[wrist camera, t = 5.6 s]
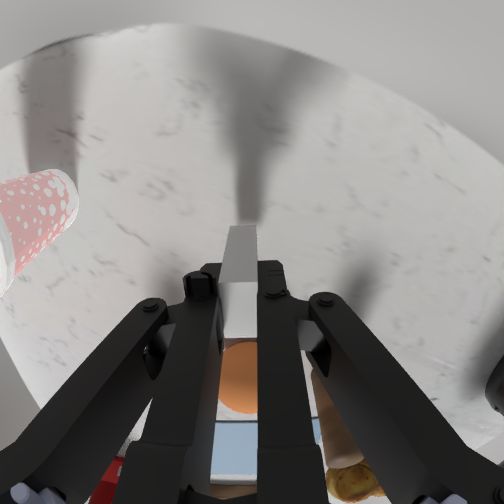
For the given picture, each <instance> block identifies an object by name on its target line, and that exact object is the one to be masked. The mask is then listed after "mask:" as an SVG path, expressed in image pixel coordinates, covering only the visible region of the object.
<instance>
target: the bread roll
mask: <svg viewBox="0 0 504 504" xmlns="http://www.w3.org/2000/svg"><path fill="white" fill-rule="evenodd" d="M326 485H327V489H328V491H329V493H330V494H331V495H332V496H334V497H335V498H337V499H339V500H341V501H343V502H347V503H349V502H353V503H355V502H359V501H362V500H365V499H367V498H368V497H370V496H371V495H372V496H377V497H380V496H386V495H385V493H384V491H383V489H382V488H381V486H380V484H379V482H378V481H377V479H376V477H375V475H374V474H373V472H372V470H371V468H370V467H369V465H368V463H367V461H366V460H365V458H364V459H363V460H362V461H360V462H359V463H357V464H355V465H352V466H349V467H345V468H330V467H329V469H328V471H327V472H326Z"/></svg>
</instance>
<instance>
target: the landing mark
mask: <svg viewBox="0 0 504 504" xmlns="http://www.w3.org/2000/svg"><path fill="white" fill-rule="evenodd" d="M312 424H313V431H314V437H315V442H316V444H317V445H318V443H319V439H320V435H321V429H320V424H319V418H312ZM257 448H258V422H216V423H215V433H214V443H213V453H212V464H211V474H226V475H257Z"/></svg>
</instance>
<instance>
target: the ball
mask: <svg viewBox="0 0 504 504" xmlns="http://www.w3.org/2000/svg"><path fill="white" fill-rule="evenodd" d="M218 398H219V399H220V400H221V401H222V403H223V404H225V405H226V406H227V407H229V408H230V409H232V410H234V411H237V412H240V413H246V414H254V413H257V342H242V343H238V344H235V345H233V346H231V347H229V348H228V349H226V350H225V351H224V352H223V358H222V367H221V376H220V386H219V395H218Z"/></svg>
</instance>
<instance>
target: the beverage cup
mask: <svg viewBox="0 0 504 504" xmlns="http://www.w3.org/2000/svg"><path fill="white" fill-rule="evenodd" d="M78 209H79V200H78V193H77V190H76V187H75V185H74V183H73V181H72V180H71V179H70V178H69V176H68V175H67V174H65V173H64V172H62V171H60V170H58V169H48V170H44V171H40V172H36V173H32V174H28V175H24V176H21V177H17V178H13V179H10V180H6V181H3V182H0V297H1V296H2V295H3V294H4V292H5V291H6V290H8V288H9V287H10V285H11V283H12V281H13V280H14V277H15V276H16V275H17V274H18V273H19V272H20V271H21V270H22V269H23V268H24V267H25V266H26V265H27V264H28V263H29V262H30V261H31V260H32V259H33V258H34V257H35V256H36V255H37V254H38V253H39V252H41V251H42V250H43V249H44V248H45V247H46V246H47V245H48V244H49V243H50V242H52V241H53V240H54V239H55V238H56V237H57V236H58V235H59V234H61V233H62V232H63V231H64V230H65V229H66V228H68V227H69V226H70V225H71V223H72V222H73V221H74V220H75V218H76V216H77V212H78Z"/></svg>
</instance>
